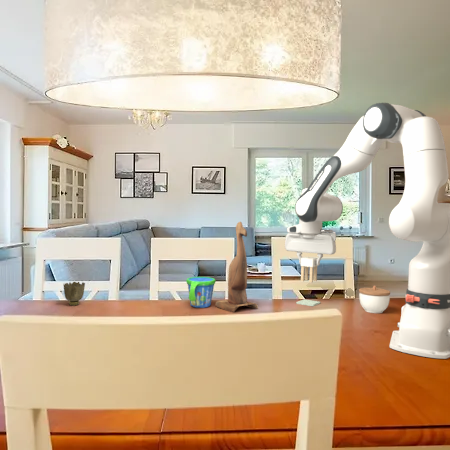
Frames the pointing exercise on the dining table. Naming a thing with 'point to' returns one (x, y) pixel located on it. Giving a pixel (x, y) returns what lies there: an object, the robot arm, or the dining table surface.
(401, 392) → the dining table surface
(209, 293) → the snack cup
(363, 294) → the lidded jar
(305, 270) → the stool
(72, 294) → the cup
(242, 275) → the bird sculpture
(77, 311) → the dining table surface
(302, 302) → the mat
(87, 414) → the dining table surface
